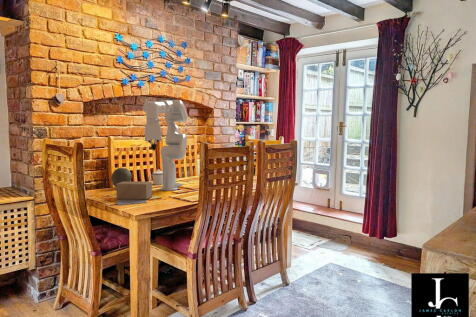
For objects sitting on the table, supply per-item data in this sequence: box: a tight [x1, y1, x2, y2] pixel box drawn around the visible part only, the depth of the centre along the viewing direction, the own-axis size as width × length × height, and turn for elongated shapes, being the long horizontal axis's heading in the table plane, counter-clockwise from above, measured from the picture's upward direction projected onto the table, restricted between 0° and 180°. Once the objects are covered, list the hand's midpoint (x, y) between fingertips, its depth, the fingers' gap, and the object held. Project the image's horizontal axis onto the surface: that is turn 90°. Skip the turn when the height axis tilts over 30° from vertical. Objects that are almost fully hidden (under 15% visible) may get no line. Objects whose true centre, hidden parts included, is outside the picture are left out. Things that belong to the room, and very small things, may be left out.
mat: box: [115, 199, 148, 206], centre depth 221 cm, size 17×14×1 cm
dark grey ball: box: [110, 167, 133, 188], centre depth 265 cm, size 14×14×15 cm
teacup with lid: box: [148, 168, 163, 186], centre depth 281 cm, size 12×9×12 cm
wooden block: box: [115, 181, 153, 200], centre depth 230 cm, size 10×10×20 cm
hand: (153, 150), depth 229 cm, fingers closed
